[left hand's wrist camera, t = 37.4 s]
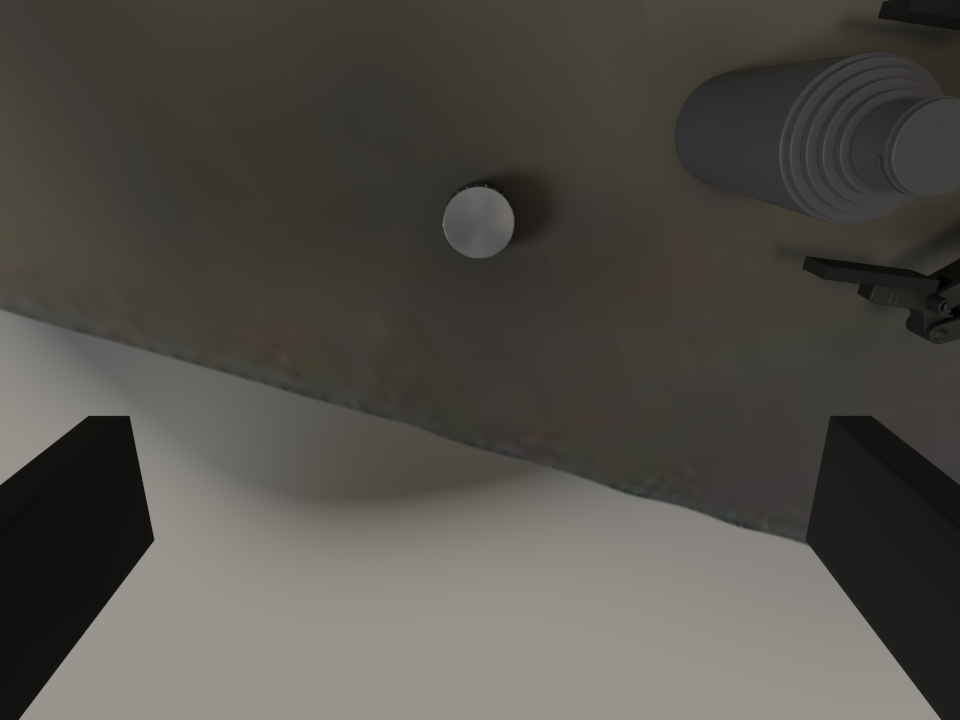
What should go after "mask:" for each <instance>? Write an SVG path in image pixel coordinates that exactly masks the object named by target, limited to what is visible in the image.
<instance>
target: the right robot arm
mask: <svg viewBox="0 0 960 720" xmlns="http://www.w3.org/2000/svg"><path fill="white" fill-rule="evenodd" d="M878 18H882V19H888V20H895V21H902V22H908V23H915V24H922V25H929V26H935V27H942V28H949V29H956V30H960V0H889V1H886V2H883V3H882V6H881V10H880V13H879V16H878ZM803 269H804V270H806V271H808V272H811V273H813V274H815V275H817V276H819V277H821V278H823V279H826V280H834V281H842V282H850V283H857V284H860V287H859V290H858V293H857V294H859V295H860V296H862V297H864V298H865V299H868V300H870V301H872V302H874V303H876V304H879V305H887V306H895V307H903V308H910V317H909V318H908V319H907V321H906V328H907V329H908V330H909V331H911V332H913V333H915V334H917V335H919V336H921V337H923V338H925V339H927V340H928V341H930V342H932V343H935V344H942V343H946V342H949V341H952V340H956V339H959V338H960V259H958V260H957V261H955V262H953V263H951V264H949V265H947V266H946V267H944V268H942V269H940V270H938V271H937V272H935V273H933V274H931V275H929V276H926V275H923V274H920V273H918V272H915V271H912V270H907V269H899V268H892V267H884V266H877V265H869V264H861V263H854V262H846V261H838V260H831V259H823V258H816V257H808V256H806V259H805V262H804V265H803Z"/></svg>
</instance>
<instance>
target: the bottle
mask: <svg viewBox="0 0 960 720" xmlns="http://www.w3.org/2000/svg"><path fill="white" fill-rule="evenodd" d="M676 147H677V151H678V154H679V157H680V159H681V161H682V163H683V164H684V166H685V167H686V169H687V170H688V171H689V172H690V173H691V174H692V175H693V176H695V177H696V178H698V179H699V180H701V181H703V182H705V183H708V184H711V185H715V186H718V187H721V188H724V189H727V190H730V191H733V192H736V193H739V194H742V195H745V196H748V197H751V198H755V199H758V200H761V201H764V202H767V203H770V204H773V205H776V206H779V207H782V208H785V209H788V210H791V211H795V212H798V213H801V214H804V215H807V216H810V217H813V218H816V219H819V220H822V221H826V222H829V223H834V224H846V225H851V224H860V223H864V222H869V221H872V220H875V219H878V218H880V217H883V216H885V215H887V214H889V213H891V212H893V211H895V210H897V209H899V208H901V207H902V206H904V205H905V204H907V203H908V202H909V201H910V200H912V199H913V198H914V197H917V198H935V197H938V196H941V195H944V194H948V193H949V192H951V191H953V190H955V189H956V188H958V187H960V98H957V97H953V96H949V95H947V96H945V94H944V92H943V90H942V88H941V86H940V85H939V83H938V82H937V80H936V79H935V78H934V77H933V76H932V75H931V74H930V73H929V72H928V71H927V70H926V69H925V68H924V67H922V66H921V65H920V64H918V63H917V62H915V61H914V60H912V59H910V58H908V57H905V56H902V55H900V54H896V53H890V52H867V53H860V54H853V55H846V56H839V57H832V58H826V59H819V60H812V61H805V62H798V63H792V64H785V65H778V66H771V67H764V68H757V69H751V70H744V71H737V72H730V73H725V74H721V75H718V76H716V77H713V78H711V79H709V80H708V81H706V82H704V83H703V84H702V85H700V86H699V87H698V88H697V89H696V90H695V91H694V92H693V93H692V94H691V95H690V97H689V98H688V99H687V101H686V102H685V104H684V106H683V108H682V110H681V112H680V115H679V117H678V121H677V125H676Z"/></svg>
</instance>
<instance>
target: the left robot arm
mask: <svg viewBox="0 0 960 720" xmlns="http://www.w3.org/2000/svg"><path fill="white" fill-rule="evenodd" d="M153 541H154V536H153V531H152V526H151V521H150V516H149V511H148V506H147V501H146V496H145V491H144V486H143V481H142V476H141V471H140V466H139V461H138V456H137V451H136V446H135V441H134V436H133V431H132V426H131V421H130V417H129V416H88V417H87V418H85V419H84V420H83V421H82V422H80V423H79V424H78V425H77V426H75V427H74V428H73V429H71V430H70V431H69V432H68V433H66V434H65V435H64V436H62V437H61V438H60V439H59V440H57V441H56V442H55V443H54V444H52V445H51V446H50V447H48V448H47V449H46V450H45V451H43V452H42V453H41V454H39V455H38V456H37V457H36V458H34V459H33V460H32V461H31V462H29V463H28V464H27V465H25V466H24V467H23V468H22V469H20V470H19V471H18V472H16V473H15V474H14V475H13V476H11V477H10V478H9V479H8V480H6V481H5V482H4V483H2V484H1V485H0V720H19V719H20V717H21V716H22V715H23V713H24V712H25V711H26V709H27V708H28V707H29V705H30V704H31V703H32V701H33V700H34V699H35V698H36V696H37V695H38V694H39V692H40V691H41V690H42V688H43V687H44V686H45V684H46V683H47V682H48V680H49V679H50V678H51V676H52V675H53V674H54V672H55V671H56V670H57V668H58V667H59V666H60V664H61V663H62V662H63V660H64V659H65V658H66V656H67V655H68V654H69V653H70V651H71V650H72V649H73V647H74V646H75V645H76V643H77V642H78V641H79V639H80V638H81V637H82V635H83V634H84V633H85V631H86V630H87V629H88V627H89V626H90V625H91V623H92V622H93V621H94V619H95V618H96V617H97V615H98V614H99V613H100V611H101V610H102V609H103V607H104V606H105V605H106V604H107V602H108V601H109V600H110V598H111V597H112V595H113V594H114V593H115V592H116V590H117V589H118V588H119V586H120V585H121V584H122V582H123V581H124V580H125V578H126V577H127V576H128V574H129V573H130V572H131V570H132V569H133V568H134V566H135V565H136V564H137V563H138V561H139V560H140V559H141V557H142V556H143V555H144V553H145V552H146V551H147V549H148V548H149V547H150V545H151V544H152V543H153ZM806 541H807V543H808V544H809V545H810V547H811V548H812V549H813V551H814V552H815V553H816V555H817V556H818V557H819V559H820V560H821V561H822V562H823V564H824V565H825V566H826V568H827V569H828V570H829V572H830V573H831V574H832V576H833V577H834V578H835V580H836V581H837V582H838V584H839V585H840V586H841V588H842V589H843V590H844V592H845V593H846V594H847V596H848V597H849V598H850V600H851V601H852V602H853V604H854V605H855V606H856V608H857V609H858V610H859V611H860V613H861V614H862V615H863V617H864V618H865V619H866V621H867V622H868V623H869V625H870V626H871V627H872V629H873V630H874V631H875V633H876V634H877V635H878V637H879V638H880V639H881V641H882V642H883V643H884V645H885V646H886V647H887V649H888V650H889V651H890V653H891V654H892V655H893V656H894V658H895V659H896V660H897V662H898V663H899V664H900V666H901V667H902V668H903V670H904V671H905V672H906V674H907V675H908V676H909V678H910V679H911V680H912V682H913V683H914V684H915V685H916V687H917V688H918V690H919V691H920V692H921V694H922V695H923V696H924V698H925V699H926V700H927V701H928V703H929V704H930V705H931V707H932V708H933V709H934V711H935V712H936V713H937V715H938V716H939V717H940V719H941V720H960V485H959V484H958V483H956V482H955V481H954V480H952V479H951V478H950V477H949V476H947V475H946V474H945V473H944V472H942V471H941V470H940V469H938V468H937V467H936V466H935V465H933V464H932V463H931V462H930V461H928V460H927V459H926V458H924V457H923V456H922V455H921V454H919V453H918V452H917V451H915V450H914V449H913V448H912V447H910V446H909V445H908V444H907V443H905V442H904V441H903V440H901V439H900V438H899V437H898V436H896V435H895V434H894V433H892V432H891V431H890V430H889V429H887V428H886V427H885V426H884V425H882V424H881V423H880V422H878V421H877V420H876V419H875V418H873V417H872V416H830V421H829V426H828V431H827V436H826V441H825V446H824V451H823V456H822V461H821V466H820V471H819V476H818V481H817V486H816V491H815V496H814V501H813V506H812V511H811V516H810V521H809V526H808V531H807V536H806Z"/></svg>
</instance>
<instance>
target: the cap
mask: <svg viewBox="0 0 960 720" xmlns="http://www.w3.org/2000/svg"><path fill="white" fill-rule="evenodd" d="M513 211H514V210H513V207H512V206H511V205H510V202H509V199H508V198H507V197H506V196H505V195H504V194H503V191H500V190H499V189H497V188H496V187H495V186H492V185H489V184H486V183H477V182H476V183H473V184H469V185H468V184H467V185H466V186H464V187H462V188H459V189H458V191H456V192H455V193H454V194H452V196H451V198H450V200H449V202H447V204H446V210H445V211H444V214H443V216H444V218H443V227H444V232H445V235H446V238H447V240H448V241H449V243H450V244H451V246H452V247H453V248H454V249H455V250H456V251H458V252H459V253H461V254H463V255H465V256H467V257H471V258H487V257H491V256H493V255H495V254H497V253H499V252H500V251H501V250H503V249H504V248H505V247H506V245H507V244H508V243H509V241H510V239H511V238H512V235H513V231H514V229H515V228H514V223H515V217H514V214H513Z"/></svg>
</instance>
